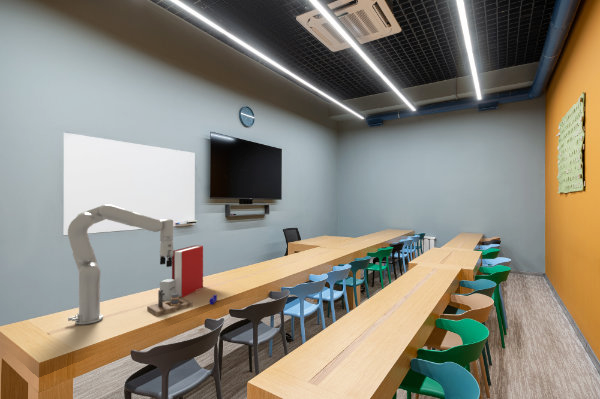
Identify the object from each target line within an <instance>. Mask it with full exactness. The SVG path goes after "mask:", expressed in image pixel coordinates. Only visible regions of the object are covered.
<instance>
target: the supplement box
mask: <svg viewBox="0 0 600 399" xmlns="http://www.w3.org/2000/svg"><path fill="white" fill-rule="evenodd" d="M159 290H163V293H165V295H163V301H164V302H166V301H170V300H171V294H174V293H175V279H172V278H166V279H164V280H161V281H159Z"/></svg>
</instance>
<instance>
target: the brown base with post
mask: <svg viewBox="0 0 600 399" xmlns="http://www.w3.org/2000/svg"><path fill="white" fill-rule="evenodd" d="M157 292H158V293H157V295H158V297H157V298H158V302H157V303H154V304H151V305H147V306H146V308H147V311H148V312H149V313H151V314H152V315H154V316H156V317H159V316H163V315H166V314H170V313H174V312H176V311H179V310H182V309H186V308H190V307H193V302H192V301H191V300H188V299H187V298H184V297H179V305H175V306H172V307H171V300H169V301H164V300H163V295H165V293H163V290H160V289H158V291H157Z"/></svg>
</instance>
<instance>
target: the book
mask: <svg viewBox="0 0 600 399" xmlns="http://www.w3.org/2000/svg"><path fill="white" fill-rule="evenodd" d="M172 257H173V258H172V266H171V279H175V293H178V294H179V297H180V298H184V297H186V296H188V295H190V294H192V293H195V292H196V291H198V290H200V289H202V288H204V245H201V244H200V245H199V244H198V245H197V244H195V245H191V246H190V245H189V246H187V247H183V248H178V249H175V250H174V249H173V256H172Z"/></svg>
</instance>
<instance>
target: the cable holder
mask: <svg viewBox="0 0 600 399" xmlns="http://www.w3.org/2000/svg"><path fill="white" fill-rule="evenodd" d="M217 298H218V295H217V294H213V295H212V296H211V297H210V298H209V305H214V304H215V303H216V302H217V300H218V299H217Z"/></svg>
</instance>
